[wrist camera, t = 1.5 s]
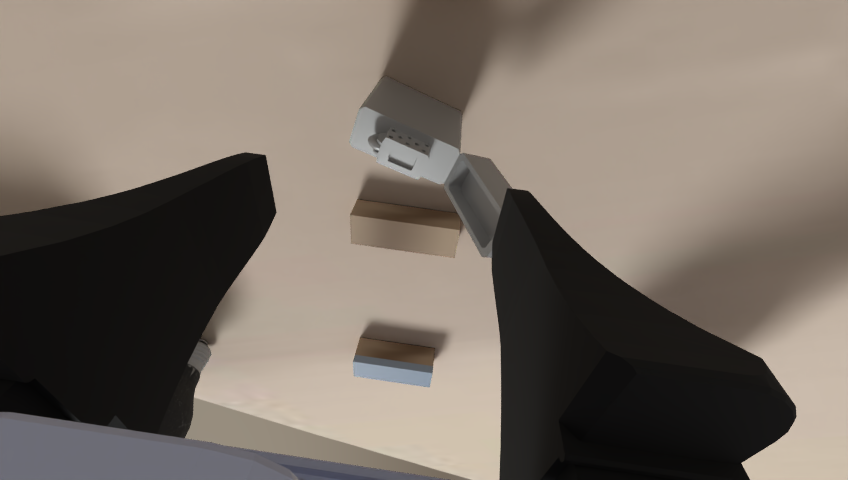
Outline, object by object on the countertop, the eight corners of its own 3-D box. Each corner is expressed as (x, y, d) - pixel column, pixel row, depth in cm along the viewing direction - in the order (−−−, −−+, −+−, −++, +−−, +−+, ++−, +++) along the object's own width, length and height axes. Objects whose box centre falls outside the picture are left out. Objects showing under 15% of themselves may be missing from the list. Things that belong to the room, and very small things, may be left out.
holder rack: (519, -91, 13) (527, -98, 11) (431, 362, 30) (429, 387, 28) (351, -112, 13) (332, -121, 11) (360, 352, 30) (353, 376, 29)
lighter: (371, 109, 18) (316, 193, 11) (382, 74, 17) (329, 146, 10) (500, 167, 19) (514, 272, 13) (518, 138, 18) (543, 237, 12)
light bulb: (195, 313, 29) (95, 444, 22) (248, 352, 32) (175, 480, 24) (156, 332, 32) (52, 456, 24) (208, 366, 34) (131, 488, 26)
